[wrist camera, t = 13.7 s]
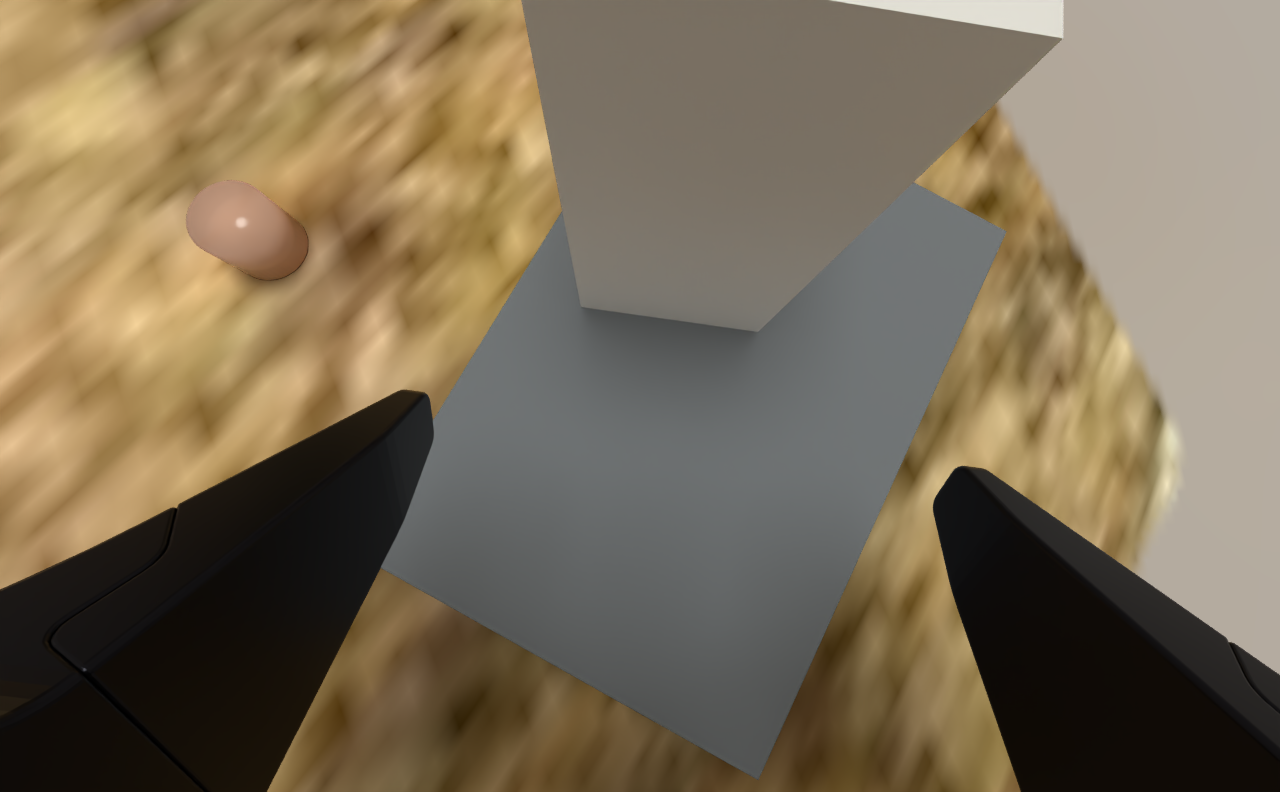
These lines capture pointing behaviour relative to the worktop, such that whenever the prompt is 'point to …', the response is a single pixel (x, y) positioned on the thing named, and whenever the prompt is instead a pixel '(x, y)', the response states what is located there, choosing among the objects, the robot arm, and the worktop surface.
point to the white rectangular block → (754, 133)
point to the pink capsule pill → (246, 230)
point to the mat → (689, 473)
